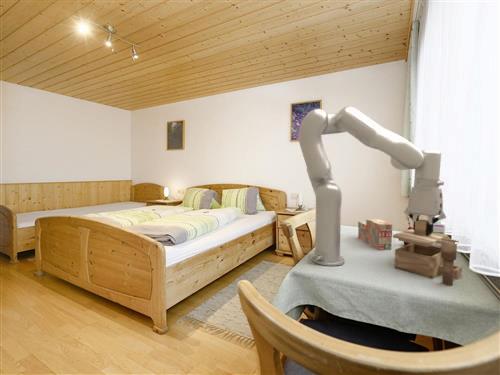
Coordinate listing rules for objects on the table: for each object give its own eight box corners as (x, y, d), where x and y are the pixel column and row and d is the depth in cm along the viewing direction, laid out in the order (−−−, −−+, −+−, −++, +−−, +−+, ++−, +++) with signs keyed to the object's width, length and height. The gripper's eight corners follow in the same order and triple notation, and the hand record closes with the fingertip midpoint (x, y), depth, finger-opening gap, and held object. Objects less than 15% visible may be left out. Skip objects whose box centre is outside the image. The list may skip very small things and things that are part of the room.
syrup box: (444, 259, 104) (446, 224, 103) (427, 257, 107) (428, 222, 106) (443, 255, 108) (444, 221, 108) (426, 253, 112) (427, 220, 111)
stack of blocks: (357, 238, 138) (358, 215, 137) (369, 238, 138) (369, 215, 137) (378, 250, 117) (378, 223, 116) (391, 250, 117) (392, 223, 116)
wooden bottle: (452, 287, 78) (454, 245, 78) (438, 283, 81) (439, 243, 81) (456, 284, 81) (458, 243, 80) (442, 280, 84) (443, 241, 83)
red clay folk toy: (422, 249, 117) (423, 217, 116) (404, 248, 120) (405, 216, 119) (418, 245, 124) (419, 214, 123) (402, 243, 127) (403, 213, 126)
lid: (447, 252, 81) (448, 230, 81) (392, 240, 95) (393, 221, 94) (463, 243, 91) (464, 224, 90) (411, 233, 104) (412, 216, 103)
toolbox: (451, 283, 81) (451, 262, 81) (394, 268, 95) (395, 249, 94) (466, 272, 91) (467, 252, 90) (413, 259, 104) (413, 242, 104)
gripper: (457, 185, 90) (453, 237, 91) (406, 182, 103) (403, 228, 104) (449, 185, 85) (445, 239, 87) (397, 182, 99) (394, 230, 100)
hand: (422, 232), depth 95 cm, fingers closed on lid, 3 cm apart
